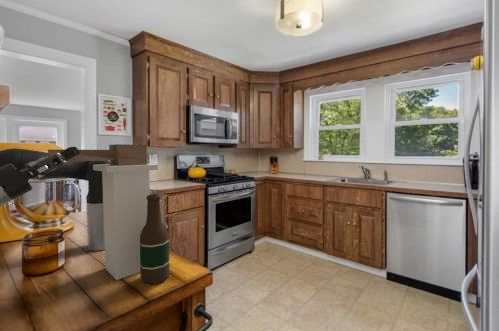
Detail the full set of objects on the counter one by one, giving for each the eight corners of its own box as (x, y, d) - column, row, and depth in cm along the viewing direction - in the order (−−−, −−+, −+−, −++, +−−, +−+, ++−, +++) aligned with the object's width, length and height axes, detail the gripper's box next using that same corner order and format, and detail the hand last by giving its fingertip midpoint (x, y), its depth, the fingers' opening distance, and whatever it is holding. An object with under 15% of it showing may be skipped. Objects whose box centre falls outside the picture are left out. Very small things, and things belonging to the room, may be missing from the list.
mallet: (47, 166, 67) (46, 143, 66) (136, 163, 83) (136, 145, 83) (52, 168, 61) (51, 143, 61) (147, 164, 78) (146, 144, 77)
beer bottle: (175, 276, 73) (174, 194, 72) (151, 289, 67) (149, 198, 66) (158, 269, 78) (156, 191, 76) (134, 280, 71) (132, 195, 70)
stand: (96, 269, 78) (93, 164, 76) (142, 255, 88) (140, 163, 86) (110, 284, 69) (106, 166, 67) (159, 267, 79) (157, 164, 77)
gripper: (9, 196, 64) (78, 160, 74) (12, 205, 54) (91, 162, 64) (-14, 171, 61) (61, 138, 71) (-15, 175, 51) (73, 135, 61)
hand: (75, 149), depth 68 cm, fingers closed on mallet, 3 cm apart
